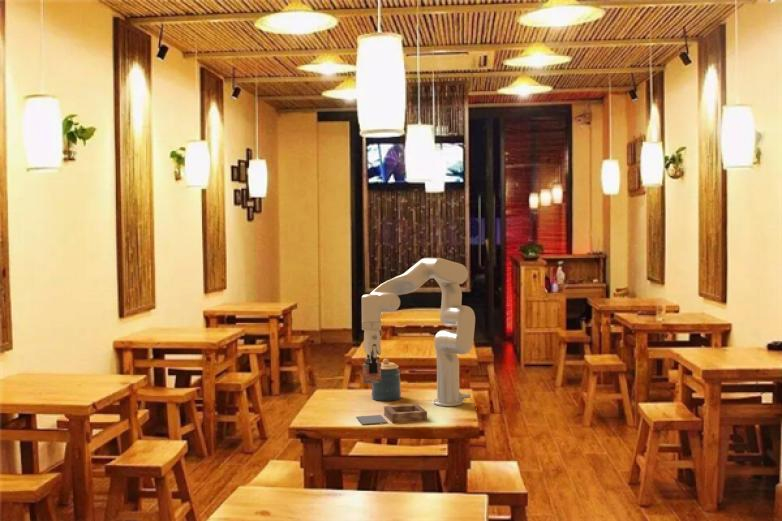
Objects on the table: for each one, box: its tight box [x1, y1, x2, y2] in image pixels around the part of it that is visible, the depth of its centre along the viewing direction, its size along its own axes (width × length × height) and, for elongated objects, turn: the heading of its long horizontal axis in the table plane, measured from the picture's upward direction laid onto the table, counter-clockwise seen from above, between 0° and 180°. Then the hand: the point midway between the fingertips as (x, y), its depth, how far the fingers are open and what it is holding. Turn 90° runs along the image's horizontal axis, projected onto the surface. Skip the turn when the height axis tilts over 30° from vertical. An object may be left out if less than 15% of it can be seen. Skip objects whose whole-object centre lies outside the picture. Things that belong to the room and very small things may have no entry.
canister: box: [371, 358, 402, 402], centre depth 368 cm, size 13×13×18 cm
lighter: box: [361, 356, 382, 385], centre depth 327 cm, size 8×3×10 cm, turn 118°
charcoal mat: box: [355, 414, 388, 426], centre depth 328 cm, size 10×12×1 cm
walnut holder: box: [383, 403, 428, 424], centre depth 332 cm, size 14×14×4 cm
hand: (371, 371), depth 327 cm, fingers closed on lighter, 3 cm apart
